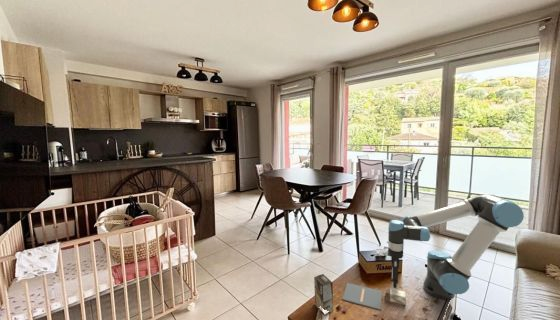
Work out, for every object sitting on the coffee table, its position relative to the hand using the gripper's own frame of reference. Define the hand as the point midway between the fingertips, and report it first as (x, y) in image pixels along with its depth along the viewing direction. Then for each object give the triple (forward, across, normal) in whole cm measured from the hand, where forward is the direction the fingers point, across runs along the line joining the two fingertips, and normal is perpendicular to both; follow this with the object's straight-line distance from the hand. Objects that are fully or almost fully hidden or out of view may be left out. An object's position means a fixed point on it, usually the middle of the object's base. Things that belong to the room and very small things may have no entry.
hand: (394, 285), depth 128 cm
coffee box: (+9, +22, -34) cm, 42 cm away
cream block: (+8, 0, +1) cm, 9 cm away
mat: (+9, +4, -16) cm, 19 cm away
